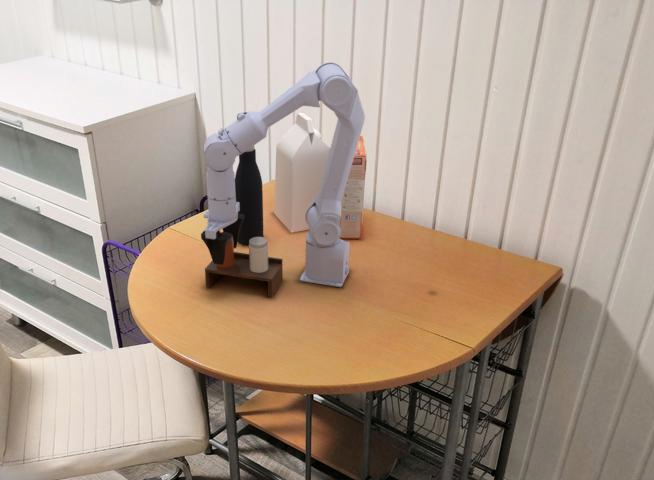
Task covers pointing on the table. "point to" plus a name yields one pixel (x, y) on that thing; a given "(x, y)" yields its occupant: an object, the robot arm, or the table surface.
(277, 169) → the milk
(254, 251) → the salt shaker
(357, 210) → the cracker box
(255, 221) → the black water bottle
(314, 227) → the robot arm
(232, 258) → the pepper shaker
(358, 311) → the table surface
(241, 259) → the shelf
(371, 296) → the table surface
